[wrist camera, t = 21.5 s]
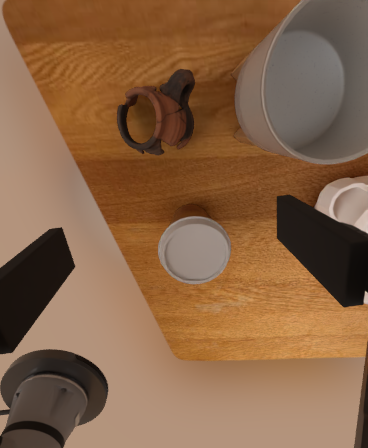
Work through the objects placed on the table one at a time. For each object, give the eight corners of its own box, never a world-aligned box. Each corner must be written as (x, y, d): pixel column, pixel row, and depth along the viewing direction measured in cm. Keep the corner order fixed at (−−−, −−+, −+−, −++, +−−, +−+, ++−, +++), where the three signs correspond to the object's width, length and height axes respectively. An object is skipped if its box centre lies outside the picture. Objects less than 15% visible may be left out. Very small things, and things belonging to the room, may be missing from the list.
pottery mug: (179, 166, 39) (147, 171, 32) (138, 130, 41) (101, 127, 34) (224, 93, 33) (197, 81, 26) (174, 54, 35) (136, 33, 28)
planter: (267, 25, 32) (361, -82, 16) (330, 93, 36) (463, 64, 19) (204, 109, 36) (227, 94, 19) (266, 165, 39) (332, 193, 23)
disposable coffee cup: (152, 230, 43) (143, 266, 31) (181, 183, 40) (183, 205, 29) (198, 255, 45) (205, 298, 33) (229, 212, 42) (248, 243, 31)
